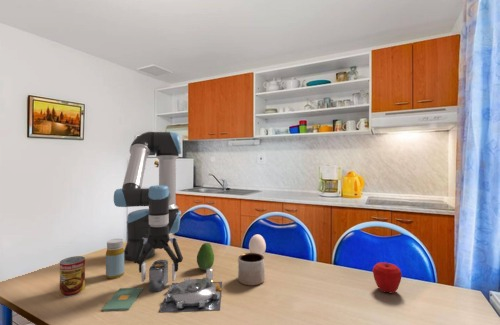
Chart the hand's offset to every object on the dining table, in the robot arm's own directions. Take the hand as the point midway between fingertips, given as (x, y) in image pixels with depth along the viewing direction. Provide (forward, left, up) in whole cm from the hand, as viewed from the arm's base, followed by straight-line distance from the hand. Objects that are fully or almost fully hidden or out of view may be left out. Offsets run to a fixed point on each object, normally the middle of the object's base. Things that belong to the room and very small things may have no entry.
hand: (158, 279), depth 105 cm
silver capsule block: (0, 0, -2) cm, 2 cm away
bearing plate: (+9, +15, -2) cm, 18 cm away
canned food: (+3, -31, -2) cm, 31 cm away
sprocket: (+9, +15, -2) cm, 18 cm away
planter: (-2, +37, -2) cm, 37 cm away
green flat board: (+10, -10, -2) cm, 14 cm away
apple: (+10, +88, -2) cm, 89 cm away
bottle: (-10, -21, -2) cm, 23 cm away
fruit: (-14, +17, -2) cm, 22 cm away
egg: (-28, +42, -2) cm, 51 cm away
